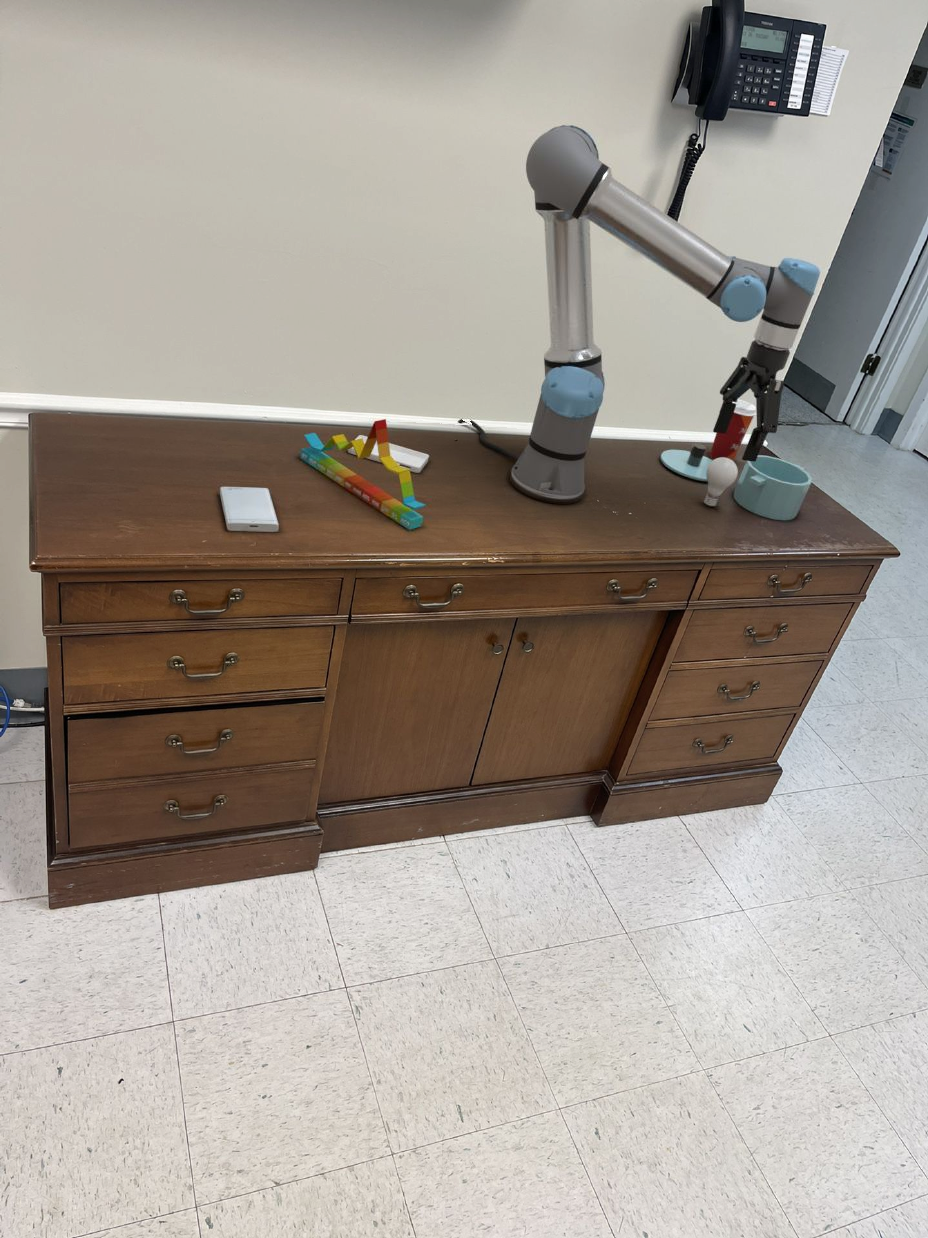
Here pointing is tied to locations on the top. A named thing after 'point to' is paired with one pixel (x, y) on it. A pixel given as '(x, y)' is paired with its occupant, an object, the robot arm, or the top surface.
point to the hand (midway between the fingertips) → (733, 446)
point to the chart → (360, 485)
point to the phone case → (399, 456)
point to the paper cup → (733, 431)
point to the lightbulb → (719, 478)
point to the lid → (688, 462)
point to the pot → (772, 488)
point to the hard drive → (248, 509)
